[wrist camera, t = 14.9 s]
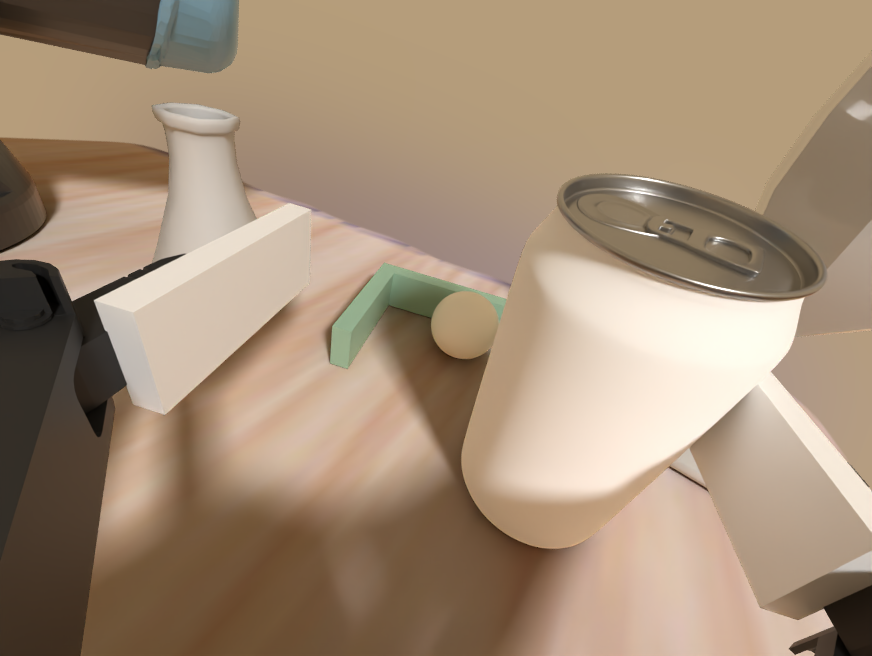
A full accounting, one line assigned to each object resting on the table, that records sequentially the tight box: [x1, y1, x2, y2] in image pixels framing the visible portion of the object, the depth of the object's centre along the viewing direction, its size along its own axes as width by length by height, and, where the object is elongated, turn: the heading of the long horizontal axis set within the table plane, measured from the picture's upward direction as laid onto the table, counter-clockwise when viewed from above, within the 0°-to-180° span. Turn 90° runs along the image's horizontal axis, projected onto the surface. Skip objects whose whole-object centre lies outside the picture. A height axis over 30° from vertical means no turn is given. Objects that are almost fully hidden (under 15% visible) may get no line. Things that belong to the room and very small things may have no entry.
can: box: [461, 174, 828, 549], centre depth 12 cm, size 6×6×12 cm
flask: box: [152, 103, 256, 263], centre depth 20 cm, size 7×7×10 cm
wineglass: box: [670, 51, 872, 488], centre depth 16 cm, size 9×9×21 cm
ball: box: [431, 291, 499, 359], centre depth 22 cm, size 4×4×4 cm
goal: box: [330, 263, 507, 369], centre depth 22 cm, size 8×13×2 cm, turn 78°
